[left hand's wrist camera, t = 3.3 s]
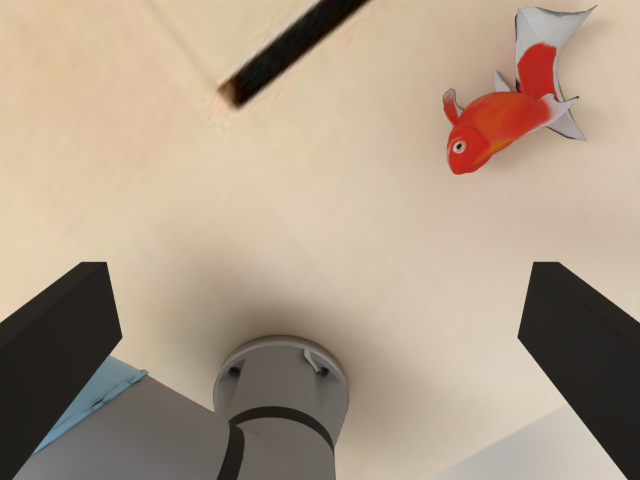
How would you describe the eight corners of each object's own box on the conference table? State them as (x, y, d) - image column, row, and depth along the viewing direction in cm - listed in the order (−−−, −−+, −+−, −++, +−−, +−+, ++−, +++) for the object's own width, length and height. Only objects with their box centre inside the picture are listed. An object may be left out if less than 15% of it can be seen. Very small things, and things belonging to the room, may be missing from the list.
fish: (384, 68, 30) (499, 79, 23) (520, -28, 34) (660, -46, 26) (417, 181, 37) (514, 218, 29) (528, 91, 40) (641, 104, 33)
